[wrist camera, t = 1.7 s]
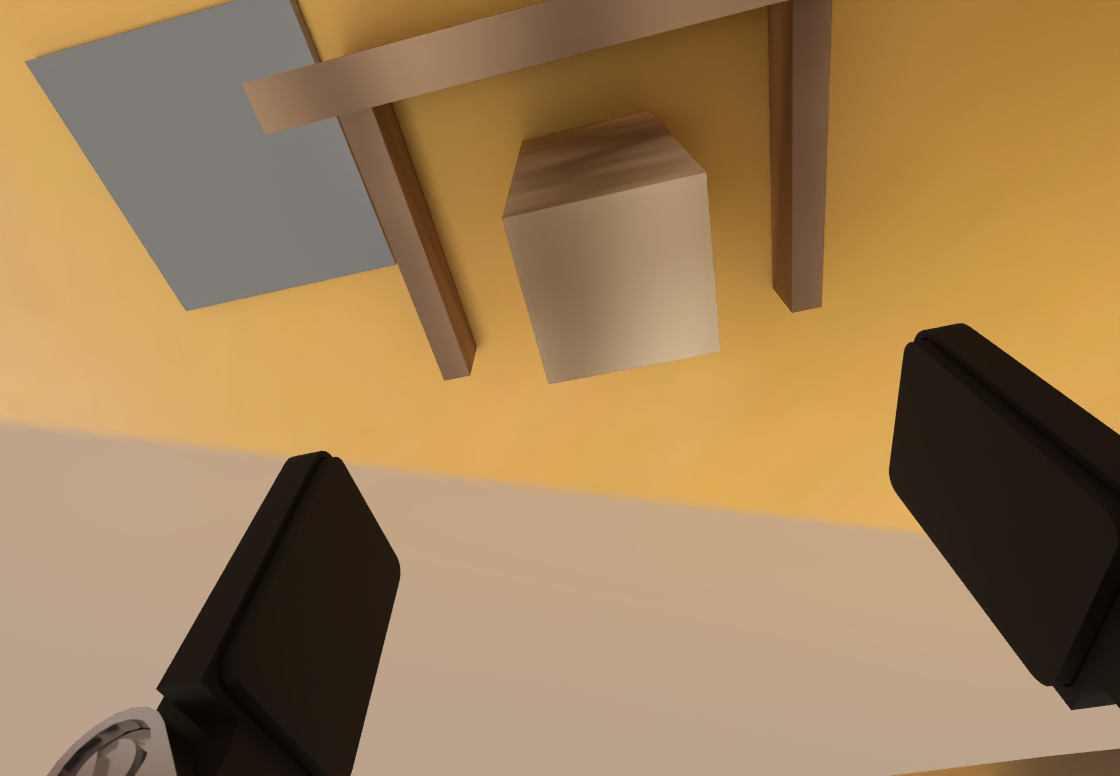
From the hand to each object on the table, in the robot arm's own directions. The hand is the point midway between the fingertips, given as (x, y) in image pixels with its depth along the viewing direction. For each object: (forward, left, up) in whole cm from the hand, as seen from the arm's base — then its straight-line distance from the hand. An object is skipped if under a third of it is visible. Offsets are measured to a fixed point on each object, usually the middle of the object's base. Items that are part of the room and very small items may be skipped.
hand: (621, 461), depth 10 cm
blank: (-1, 0, -17) cm, 17 cm away
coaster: (+13, -4, -17) cm, 22 cm away
